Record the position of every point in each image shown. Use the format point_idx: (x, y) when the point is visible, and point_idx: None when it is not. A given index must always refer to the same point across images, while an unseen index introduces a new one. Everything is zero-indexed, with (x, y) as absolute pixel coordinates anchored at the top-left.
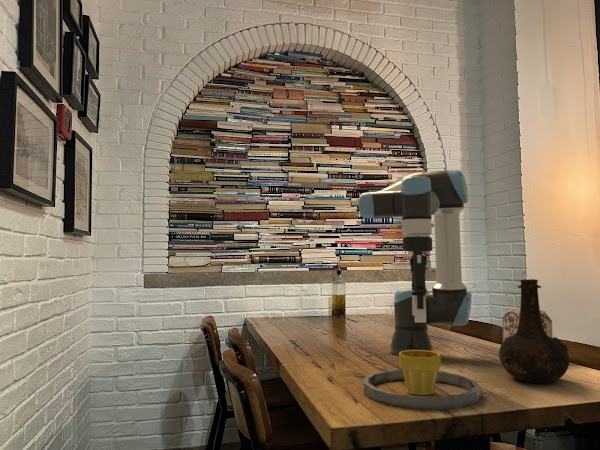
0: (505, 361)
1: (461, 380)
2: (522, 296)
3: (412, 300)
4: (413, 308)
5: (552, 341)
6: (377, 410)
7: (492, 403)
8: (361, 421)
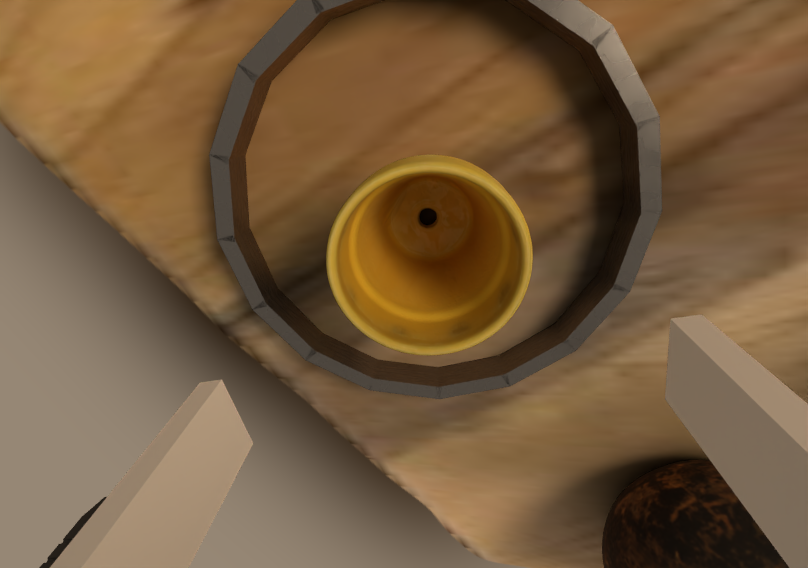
0: (678, 492)
1: (545, 343)
2: None
3: (788, 439)
4: (713, 371)
5: None
6: (147, 116)
7: (384, 402)
8: (16, 94)
